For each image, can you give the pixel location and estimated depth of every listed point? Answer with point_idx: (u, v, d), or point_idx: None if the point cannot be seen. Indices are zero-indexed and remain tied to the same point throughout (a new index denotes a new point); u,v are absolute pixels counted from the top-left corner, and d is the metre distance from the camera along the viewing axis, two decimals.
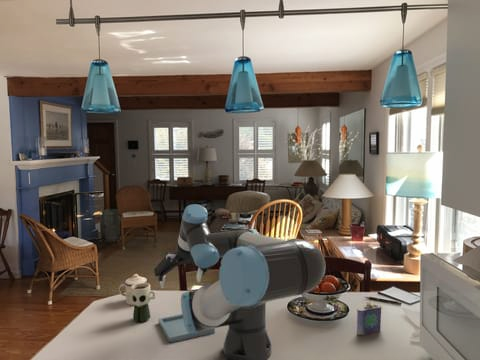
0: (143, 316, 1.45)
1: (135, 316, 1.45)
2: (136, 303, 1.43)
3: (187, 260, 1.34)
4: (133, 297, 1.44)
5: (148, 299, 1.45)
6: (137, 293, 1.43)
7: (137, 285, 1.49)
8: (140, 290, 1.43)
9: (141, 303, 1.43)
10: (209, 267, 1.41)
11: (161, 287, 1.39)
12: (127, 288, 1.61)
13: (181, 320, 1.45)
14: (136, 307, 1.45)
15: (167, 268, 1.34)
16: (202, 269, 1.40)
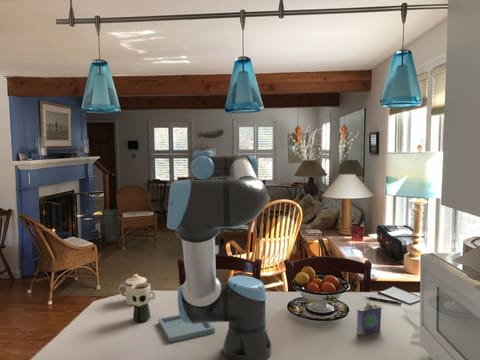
0: (143, 316, 1.45)
1: (135, 316, 1.45)
2: (136, 303, 1.43)
3: None
4: (133, 297, 1.44)
5: (148, 299, 1.45)
6: (137, 293, 1.43)
7: (137, 285, 1.49)
8: (140, 290, 1.43)
9: (141, 303, 1.43)
10: None
11: None
12: (127, 288, 1.61)
13: (181, 320, 1.45)
14: (136, 307, 1.45)
15: None
16: None
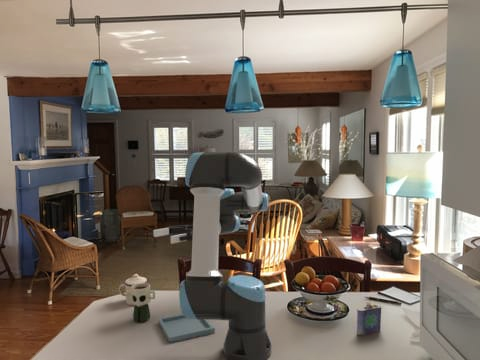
0: (143, 316, 1.45)
1: (135, 316, 1.45)
2: (136, 303, 1.43)
3: (192, 228, 1.59)
4: (133, 297, 1.44)
5: (148, 299, 1.45)
6: (137, 293, 1.43)
7: (137, 285, 1.49)
8: (140, 290, 1.43)
9: (141, 303, 1.43)
10: (193, 234, 1.48)
11: (154, 230, 1.56)
12: (127, 288, 1.61)
13: (181, 320, 1.45)
14: (136, 307, 1.45)
15: None
16: None
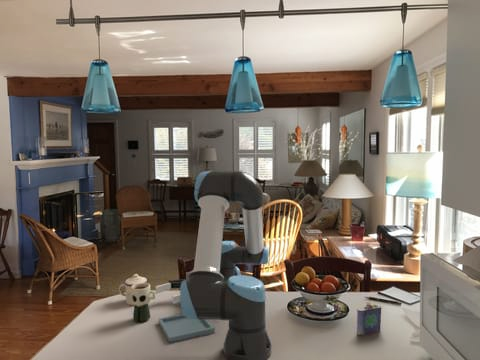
0: (143, 316, 1.45)
1: (135, 316, 1.45)
2: (136, 303, 1.43)
3: None
4: (133, 297, 1.44)
5: (148, 299, 1.45)
6: (137, 293, 1.43)
7: (137, 285, 1.49)
8: (140, 290, 1.43)
9: (141, 303, 1.43)
10: None
11: (156, 286, 1.59)
12: (127, 288, 1.61)
13: (181, 320, 1.45)
14: (136, 307, 1.45)
15: None
16: None
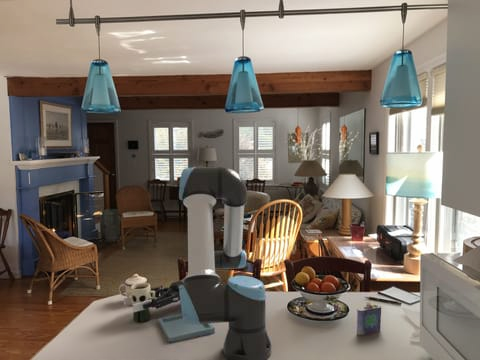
0: (143, 316, 1.45)
1: (135, 316, 1.45)
2: (136, 303, 1.43)
3: (166, 291, 1.53)
4: (133, 297, 1.44)
5: (148, 299, 1.45)
6: (137, 293, 1.43)
7: (137, 285, 1.49)
8: (140, 290, 1.43)
9: None
10: (157, 301, 1.43)
11: None
12: (127, 288, 1.61)
13: (181, 320, 1.45)
14: None
15: None
16: None
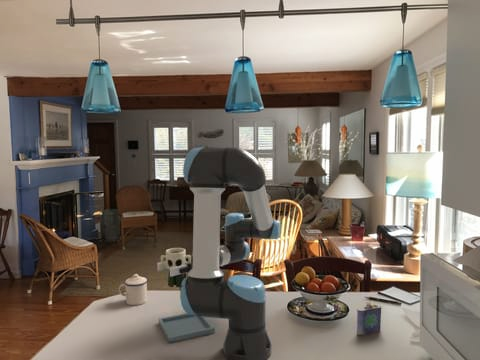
0: (179, 281, 1.37)
1: (170, 282, 1.38)
2: None
3: None
4: (168, 262, 1.37)
5: (184, 264, 1.38)
6: (173, 257, 1.36)
7: (171, 250, 1.41)
8: (176, 254, 1.36)
9: None
10: None
11: None
12: (127, 288, 1.61)
13: (181, 320, 1.45)
14: None
15: None
16: None
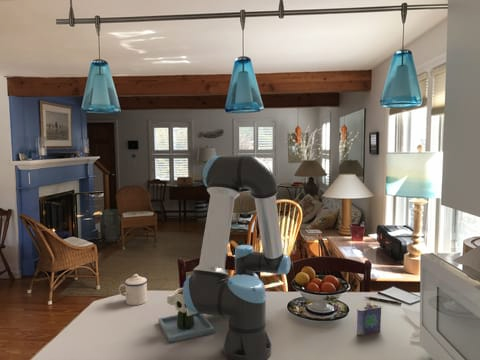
0: (188, 323, 1.37)
1: (180, 323, 1.37)
2: (181, 309, 1.36)
3: None
4: (177, 303, 1.37)
5: None
6: (182, 299, 1.35)
7: (180, 290, 1.41)
8: None
9: (186, 309, 1.36)
10: None
11: None
12: (127, 288, 1.61)
13: None
14: (181, 313, 1.37)
15: None
16: None
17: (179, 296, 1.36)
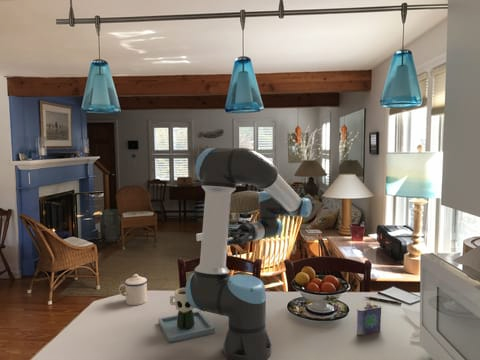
0: (188, 323, 1.37)
1: (180, 323, 1.37)
2: (182, 309, 1.36)
3: (236, 232, 1.52)
4: (178, 303, 1.37)
5: None
6: (183, 299, 1.36)
7: (180, 290, 1.41)
8: None
9: (187, 309, 1.36)
10: (240, 238, 1.42)
11: None
12: (127, 288, 1.61)
13: None
14: (181, 313, 1.38)
15: None
16: None
17: (180, 296, 1.36)
